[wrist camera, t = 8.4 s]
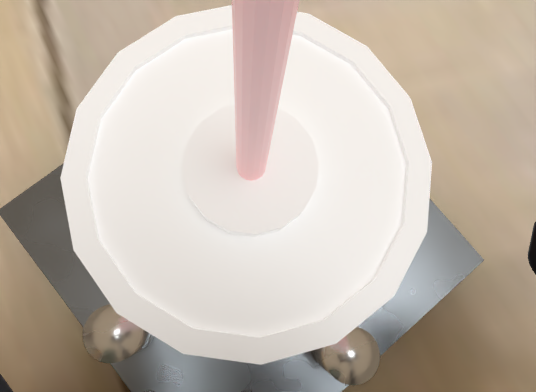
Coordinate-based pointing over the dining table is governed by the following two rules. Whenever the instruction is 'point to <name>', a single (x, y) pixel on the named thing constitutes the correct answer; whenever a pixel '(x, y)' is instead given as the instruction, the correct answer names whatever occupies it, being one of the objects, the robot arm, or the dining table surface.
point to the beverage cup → (247, 182)
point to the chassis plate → (218, 370)
